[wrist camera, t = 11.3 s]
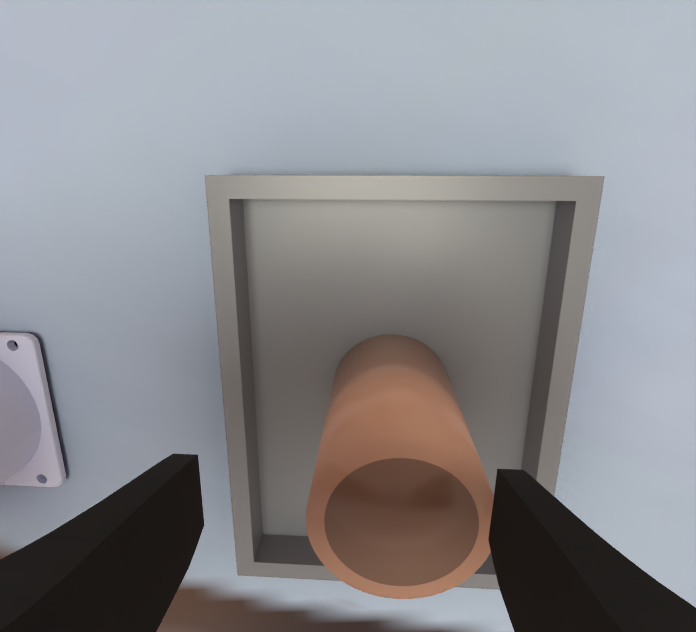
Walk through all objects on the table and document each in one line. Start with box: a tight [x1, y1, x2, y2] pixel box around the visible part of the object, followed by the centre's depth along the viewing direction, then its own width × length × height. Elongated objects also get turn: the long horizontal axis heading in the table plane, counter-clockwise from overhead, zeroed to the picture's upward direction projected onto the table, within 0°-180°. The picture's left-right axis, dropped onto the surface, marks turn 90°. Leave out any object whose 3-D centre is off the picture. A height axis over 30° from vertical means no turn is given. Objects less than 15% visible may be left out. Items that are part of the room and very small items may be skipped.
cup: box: [306, 334, 494, 599], centre depth 15 cm, size 5×5×8 cm
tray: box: [205, 175, 605, 589], centre depth 19 cm, size 14×18×2 cm
